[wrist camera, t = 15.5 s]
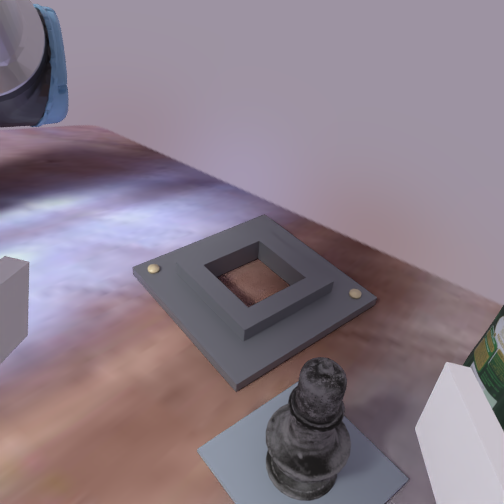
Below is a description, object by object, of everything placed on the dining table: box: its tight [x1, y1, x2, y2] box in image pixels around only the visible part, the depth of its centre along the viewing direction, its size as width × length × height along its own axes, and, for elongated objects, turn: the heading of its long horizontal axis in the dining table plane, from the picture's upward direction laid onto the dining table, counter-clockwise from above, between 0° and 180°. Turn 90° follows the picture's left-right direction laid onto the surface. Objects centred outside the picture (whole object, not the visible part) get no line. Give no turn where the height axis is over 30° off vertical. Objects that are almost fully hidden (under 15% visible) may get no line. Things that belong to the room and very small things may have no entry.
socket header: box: [132, 214, 377, 392], centre depth 49 cm, size 18×18×2 cm
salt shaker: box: [266, 357, 351, 501], centre depth 31 cm, size 6×6×12 cm
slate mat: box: [197, 382, 409, 504], centre depth 35 cm, size 11×11×1 cm
